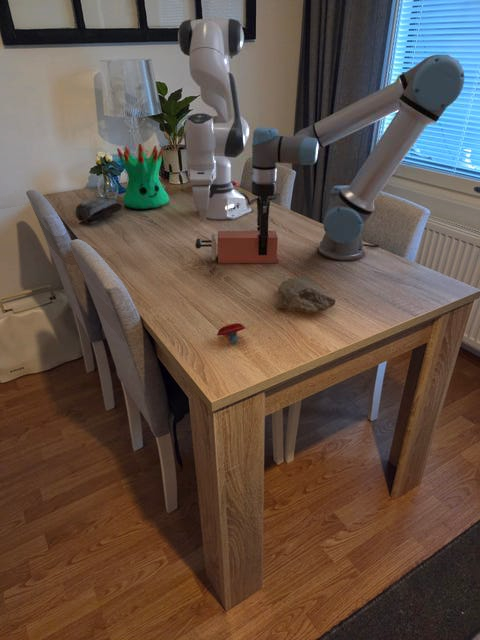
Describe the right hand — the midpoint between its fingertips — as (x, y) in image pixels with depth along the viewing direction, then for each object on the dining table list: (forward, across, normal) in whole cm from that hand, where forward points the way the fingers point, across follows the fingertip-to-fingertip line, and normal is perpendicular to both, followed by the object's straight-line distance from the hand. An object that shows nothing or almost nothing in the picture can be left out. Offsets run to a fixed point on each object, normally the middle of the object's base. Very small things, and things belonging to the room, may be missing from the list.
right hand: (261, 249), depth 150 cm
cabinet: (+3, 0, -5) cm, 6 cm away
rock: (+3, -42, -64) cm, 77 cm away
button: (+3, +49, -11) cm, 51 cm away
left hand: (-12, 0, -19) cm, 23 cm away
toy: (+3, -62, -48) cm, 79 cm away
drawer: (+3, 0, -10) cm, 11 cm away
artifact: (+3, +31, +9) cm, 32 cm away
